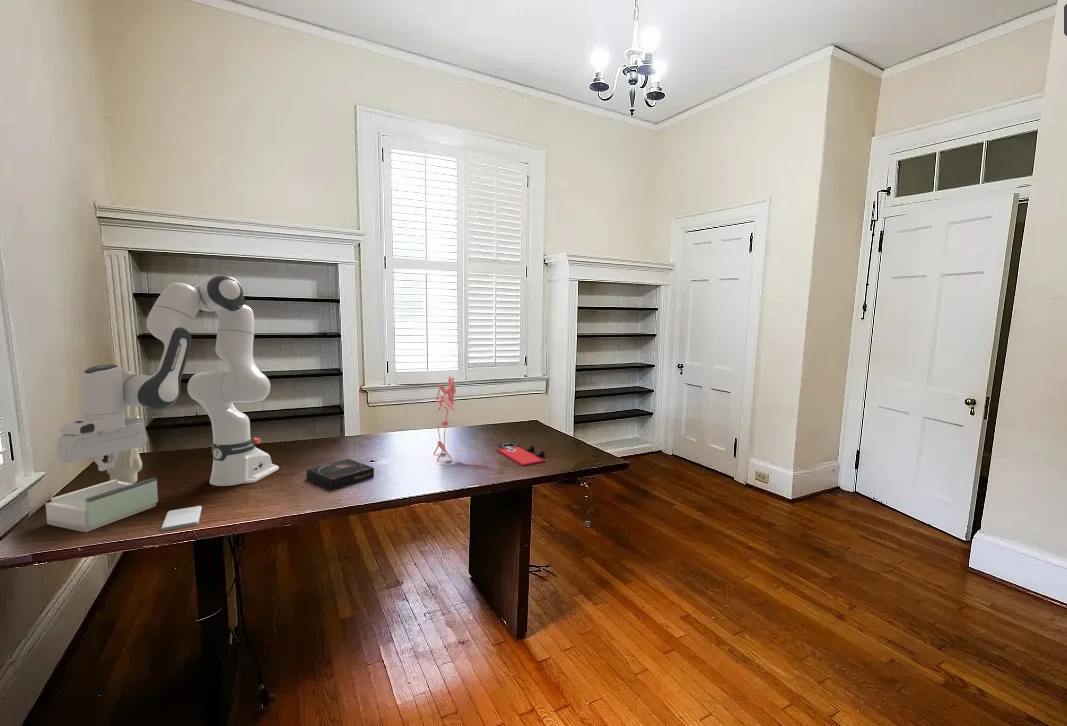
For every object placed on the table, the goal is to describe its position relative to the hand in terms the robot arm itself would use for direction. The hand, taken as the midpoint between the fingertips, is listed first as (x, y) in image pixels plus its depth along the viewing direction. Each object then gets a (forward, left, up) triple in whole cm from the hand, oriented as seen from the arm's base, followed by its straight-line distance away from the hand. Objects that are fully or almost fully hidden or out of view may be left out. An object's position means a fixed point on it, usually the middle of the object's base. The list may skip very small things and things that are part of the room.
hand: (106, 469), depth 131 cm
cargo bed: (-1, -3, -14) cm, 14 cm away
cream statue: (-20, -24, -14) cm, 34 cm away
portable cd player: (-49, +40, -15) cm, 65 cm away
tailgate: (-1, +5, -13) cm, 14 cm away
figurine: (-86, +67, -14) cm, 110 cm away
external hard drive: (-5, +21, -15) cm, 26 cm away
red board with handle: (-99, +94, -15) cm, 138 cm away
